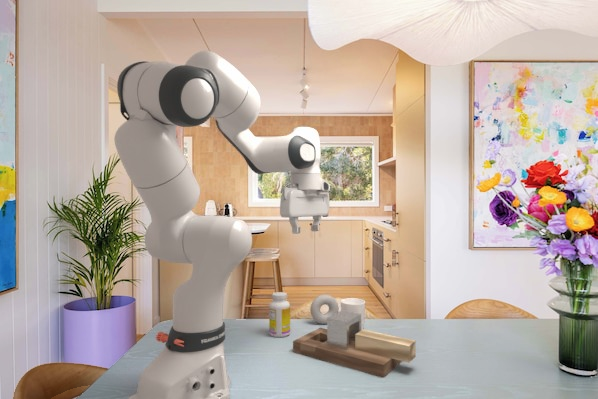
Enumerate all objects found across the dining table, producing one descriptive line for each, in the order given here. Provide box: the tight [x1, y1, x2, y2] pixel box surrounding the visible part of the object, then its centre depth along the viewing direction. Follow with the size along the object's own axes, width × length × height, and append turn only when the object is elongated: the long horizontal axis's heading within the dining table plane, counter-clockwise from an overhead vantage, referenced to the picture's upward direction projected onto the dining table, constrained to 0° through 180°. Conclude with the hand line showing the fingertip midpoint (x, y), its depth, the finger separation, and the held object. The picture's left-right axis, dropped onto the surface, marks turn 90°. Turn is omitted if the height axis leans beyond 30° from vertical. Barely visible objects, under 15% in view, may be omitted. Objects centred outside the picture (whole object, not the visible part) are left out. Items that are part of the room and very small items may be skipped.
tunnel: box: [326, 310, 361, 350], centre depth 106 cm, size 8×6×8 cm
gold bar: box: [355, 329, 417, 364], centre depth 99 cm, size 4×14×4 cm, turn 54°
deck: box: [292, 327, 402, 378], centre depth 105 cm, size 14×27×3 cm, turn 54°
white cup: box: [340, 297, 366, 330], centre depth 123 cm, size 8×8×10 cm
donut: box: [309, 294, 339, 325], centre depth 132 cm, size 10×4×10 cm, turn 102°
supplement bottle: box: [268, 291, 291, 338], centre depth 122 cm, size 7×7×13 cm
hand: (305, 232), depth 111 cm, fingers open, 8 cm apart
